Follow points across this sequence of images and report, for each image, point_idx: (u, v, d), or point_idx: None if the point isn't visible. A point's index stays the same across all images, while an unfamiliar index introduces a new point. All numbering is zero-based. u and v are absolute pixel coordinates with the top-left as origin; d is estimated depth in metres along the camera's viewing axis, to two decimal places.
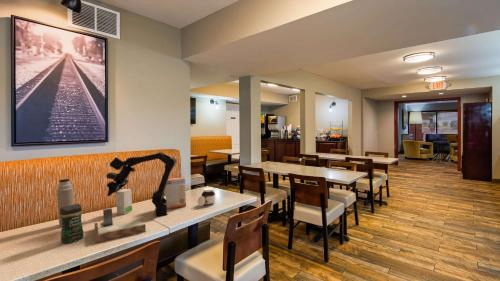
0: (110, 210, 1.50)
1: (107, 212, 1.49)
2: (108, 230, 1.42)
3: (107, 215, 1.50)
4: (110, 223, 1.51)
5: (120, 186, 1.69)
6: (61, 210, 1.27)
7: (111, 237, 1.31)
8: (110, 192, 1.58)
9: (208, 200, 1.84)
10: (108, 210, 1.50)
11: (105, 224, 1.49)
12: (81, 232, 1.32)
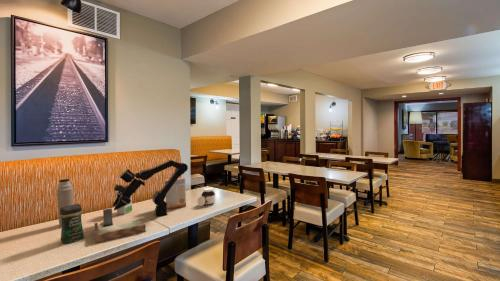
0: (110, 210, 1.50)
1: (107, 212, 1.49)
2: (108, 230, 1.42)
3: (107, 215, 1.50)
4: (110, 223, 1.51)
5: None
6: (61, 210, 1.27)
7: (111, 237, 1.31)
8: (119, 206, 1.48)
9: (208, 200, 1.84)
10: (108, 210, 1.50)
11: (105, 224, 1.49)
12: (81, 232, 1.32)
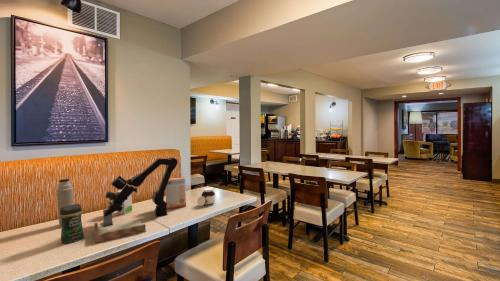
0: None
1: None
2: (108, 230, 1.42)
3: None
4: (110, 223, 1.51)
5: None
6: (61, 210, 1.27)
7: (111, 237, 1.31)
8: (110, 211, 1.49)
9: (208, 200, 1.84)
10: None
11: (105, 224, 1.49)
12: (81, 232, 1.32)
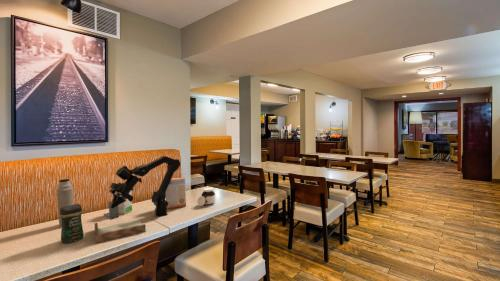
0: None
1: None
2: (108, 230, 1.42)
3: (114, 207, 1.42)
4: (116, 215, 1.44)
5: None
6: (61, 210, 1.27)
7: (111, 237, 1.31)
8: (117, 203, 1.42)
9: (208, 200, 1.84)
10: None
11: (111, 217, 1.42)
12: (81, 232, 1.32)
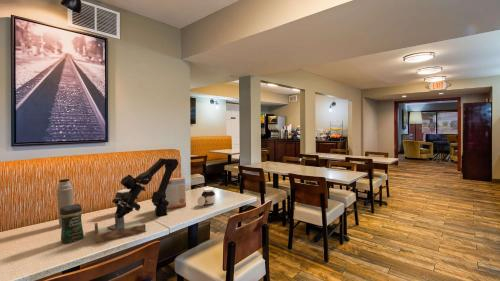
0: None
1: None
2: (108, 230, 1.42)
3: (120, 219, 1.41)
4: (122, 227, 1.42)
5: (122, 209, 1.44)
6: (61, 210, 1.27)
7: (111, 237, 1.31)
8: (124, 213, 1.40)
9: (208, 200, 1.84)
10: None
11: (118, 229, 1.40)
12: (81, 232, 1.32)
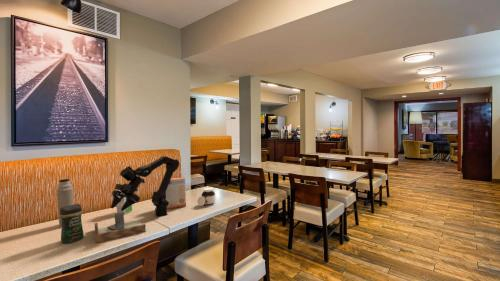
0: (122, 214, 1.42)
1: (119, 216, 1.40)
2: (108, 230, 1.42)
3: (120, 219, 1.41)
4: (122, 227, 1.42)
5: (118, 200, 1.46)
6: (61, 210, 1.27)
7: (111, 237, 1.31)
8: (126, 205, 1.39)
9: (208, 200, 1.84)
10: (120, 214, 1.41)
11: (118, 229, 1.40)
12: (81, 232, 1.32)
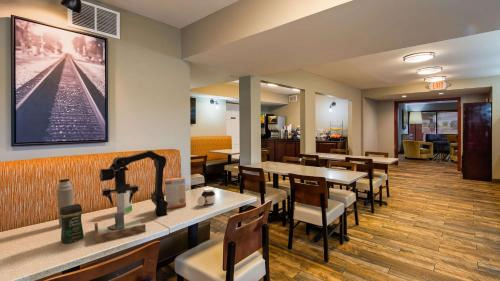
0: (122, 214, 1.42)
1: (119, 216, 1.40)
2: (108, 230, 1.42)
3: (120, 219, 1.41)
4: (122, 227, 1.42)
5: None
6: (61, 210, 1.27)
7: (111, 237, 1.31)
8: (131, 197, 1.52)
9: (208, 200, 1.84)
10: (120, 214, 1.41)
11: (118, 229, 1.40)
12: (81, 232, 1.32)
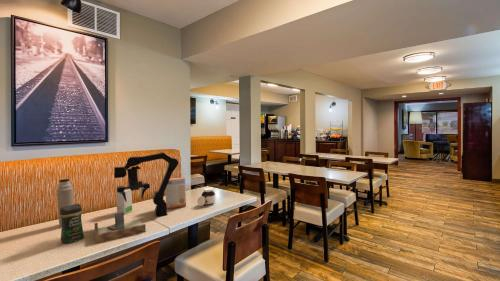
0: (122, 214, 1.42)
1: (119, 216, 1.40)
2: (108, 230, 1.42)
3: (120, 219, 1.41)
4: (122, 227, 1.42)
5: None
6: (61, 210, 1.27)
7: (111, 237, 1.31)
8: None
9: (208, 200, 1.84)
10: (120, 214, 1.41)
11: (118, 229, 1.40)
12: (81, 232, 1.32)
